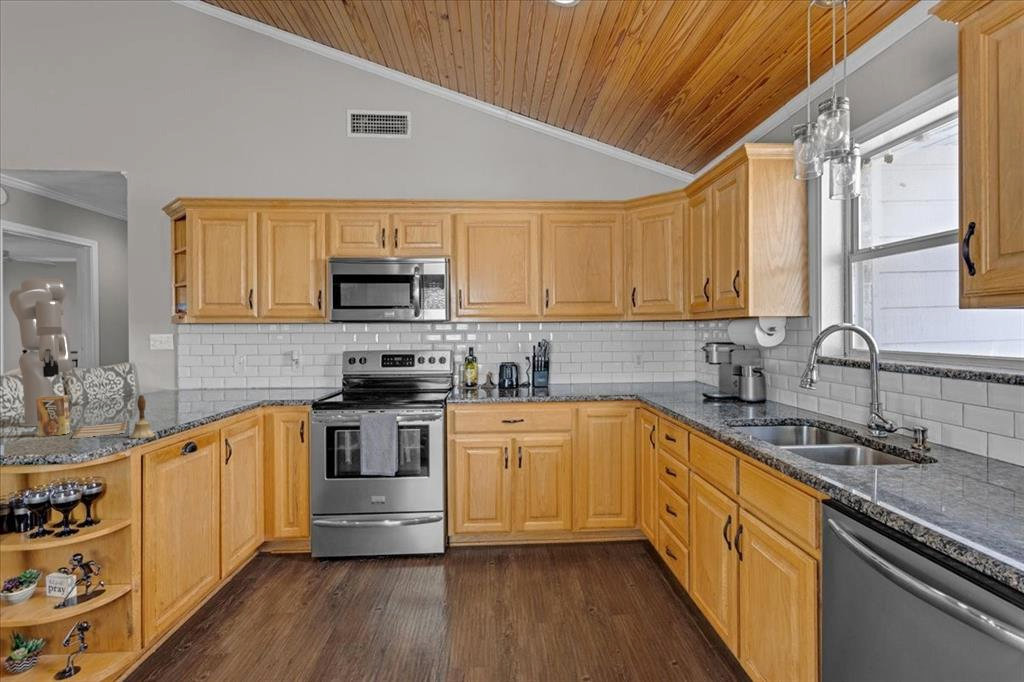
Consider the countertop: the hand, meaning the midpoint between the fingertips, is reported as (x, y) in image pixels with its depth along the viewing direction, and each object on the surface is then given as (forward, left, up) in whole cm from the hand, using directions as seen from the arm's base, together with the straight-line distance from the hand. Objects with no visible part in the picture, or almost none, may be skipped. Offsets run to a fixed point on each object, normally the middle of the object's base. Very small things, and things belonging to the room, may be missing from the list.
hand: (51, 375), depth 212 cm
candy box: (0, 0, -24) cm, 24 cm away
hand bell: (+24, +29, -24) cm, 44 cm away
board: (+3, +15, -23) cm, 28 cm away
